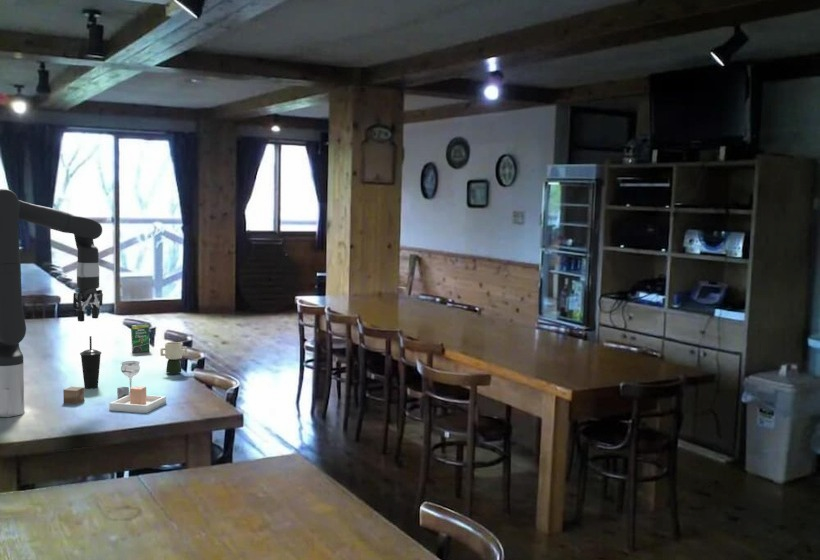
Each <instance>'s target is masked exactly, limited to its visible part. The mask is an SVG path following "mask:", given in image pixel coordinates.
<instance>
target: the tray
mask: <svg viewBox="0 0 820 560" xmlns="http://www.w3.org/2000/svg"><path fill="white" fill-rule="evenodd" d="M165 404H167V396H166V395H165V396H164V395H152V394H151V395H150V394H146V404H144V405H139V404H130V394H129V395H127V396H125V397H122V398H120V399H116V400H114V401H111V402H109V404H108V405H109V406H108V407H109V411H116V412H128V413H143V414H148V413H150V412H151V411H154V410H156V409H157V408H160V407H162V406H163V405H165Z"/></svg>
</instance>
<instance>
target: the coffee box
mask: <svg viewBox="0 0 820 560" xmlns="http://www.w3.org/2000/svg"><path fill="white" fill-rule="evenodd" d="M130 330H131V331H130V333H131V352H132V353H134V352H137V353H147V352H150V348H151V347H150V326H149V324H135V325H130ZM134 354H135V353H134Z"/></svg>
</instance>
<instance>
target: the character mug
mask: <svg viewBox="0 0 820 560" xmlns="http://www.w3.org/2000/svg"><path fill="white" fill-rule="evenodd" d="M183 350H184V351H183ZM159 351H160V356H161V357H165V359H167V361H166V369H165V370H166V371H165V372H166V373H167V374H170V373H171V374H170V375H172V374H173V375H175V374H176V375H177V374H180V373H181V372H182V365H181V360H180V359H182V358H183V356H184V355H187V354H188V347H187V346H183V342H179V341H170V342H166V343H164V347H161V348H160V350H159Z"/></svg>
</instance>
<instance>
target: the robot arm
mask: <svg viewBox="0 0 820 560" xmlns="http://www.w3.org/2000/svg"><path fill="white" fill-rule="evenodd" d="M20 221H24V222H28V223H31V224H34V225H37V226H42V227H44V228H47V229H50V230H53V231H56V232H57V231H58V232H61V233H65V234H73V236H74V240H75V241H74V242H75V246H76V249H77V263H76V264H77V265H76V289H79V292H73V299H72V300H73V301H72V302H73V303H72V309H73V310H76V312H77V322H85V308H86V307H87V306H88V305H90V306H91V318H92V319H99V309H100V307H102V306H103V290H102V289H99V288H100V264H99V262H100V261H99V248H98V247H97V246H96V245H95V244H94V240H96V239H98V238H100V236H101V235H102V233H103V227H102V224H101V223H100V222H99V221H97V220H96V219H92V218H88V217H83V216H78V215H74V214H73V213H69V212H66V211H63V210H61V209H57V208H52V207H48V206H43V205H38V204H33V203H30V202H26V201H23V200H21V199H19V197H18V195H17V194H16V193H15V192H14V191H13V190H10V189H7V188H0V418H10V417H11V418H12V417H15V416H17V417H18V416H19V415H23V414H25V377H24V376H25V375H24V373H25V371H24V370H25V369H24V367H25V366H24V363H25V362H24V353H23V352H22V350H21V348H20V343H21V342H22V341H23V340H24V338H25V337H26V333H27V325H26V318H25V314H24V307H23V297H22V296H23V295H22V294H23V291H22V288H23V287H22V270H21V269H22V265H21V264H22V263H21V254H20V250H21V249H20V238H19V237H20V236H19V223H20Z"/></svg>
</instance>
